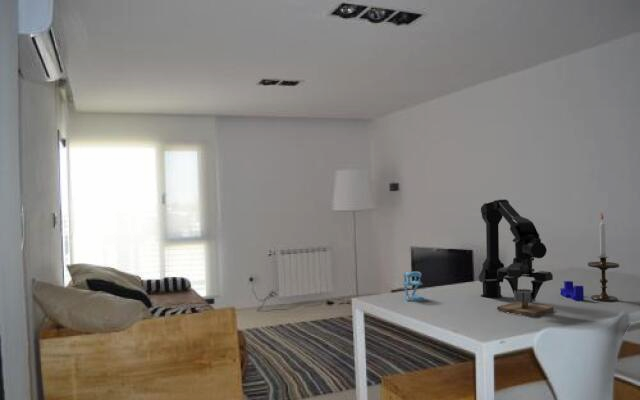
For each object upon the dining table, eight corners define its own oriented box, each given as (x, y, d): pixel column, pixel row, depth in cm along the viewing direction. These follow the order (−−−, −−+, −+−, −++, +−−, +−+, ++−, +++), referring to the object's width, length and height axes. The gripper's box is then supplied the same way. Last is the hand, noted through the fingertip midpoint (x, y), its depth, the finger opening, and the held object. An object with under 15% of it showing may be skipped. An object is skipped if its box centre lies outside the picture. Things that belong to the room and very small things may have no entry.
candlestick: (590, 295, 200) (588, 212, 200) (620, 298, 193) (618, 211, 193) (587, 300, 191) (584, 213, 191) (619, 303, 185) (616, 212, 185)
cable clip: (560, 295, 203) (560, 281, 203) (571, 295, 202) (571, 281, 202) (571, 301, 191) (571, 286, 191) (583, 301, 191) (583, 286, 191)
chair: (418, 296, 208) (417, 268, 208) (425, 300, 199) (424, 271, 199) (400, 297, 206) (400, 269, 206) (407, 301, 198) (406, 272, 198)
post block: (497, 310, 178) (496, 290, 178) (517, 305, 186) (517, 285, 186) (533, 317, 167) (532, 296, 167) (553, 311, 175) (552, 290, 175)
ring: (511, 300, 177) (510, 290, 177) (521, 297, 181) (520, 288, 181) (528, 303, 172) (528, 293, 172) (538, 300, 176) (538, 290, 176)
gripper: (488, 255, 179) (489, 296, 179) (536, 259, 164) (537, 304, 164) (505, 252, 186) (506, 292, 186) (552, 256, 171) (554, 299, 171)
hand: (524, 297), depth 177 cm, fingers closed on ring, 7 cm apart
